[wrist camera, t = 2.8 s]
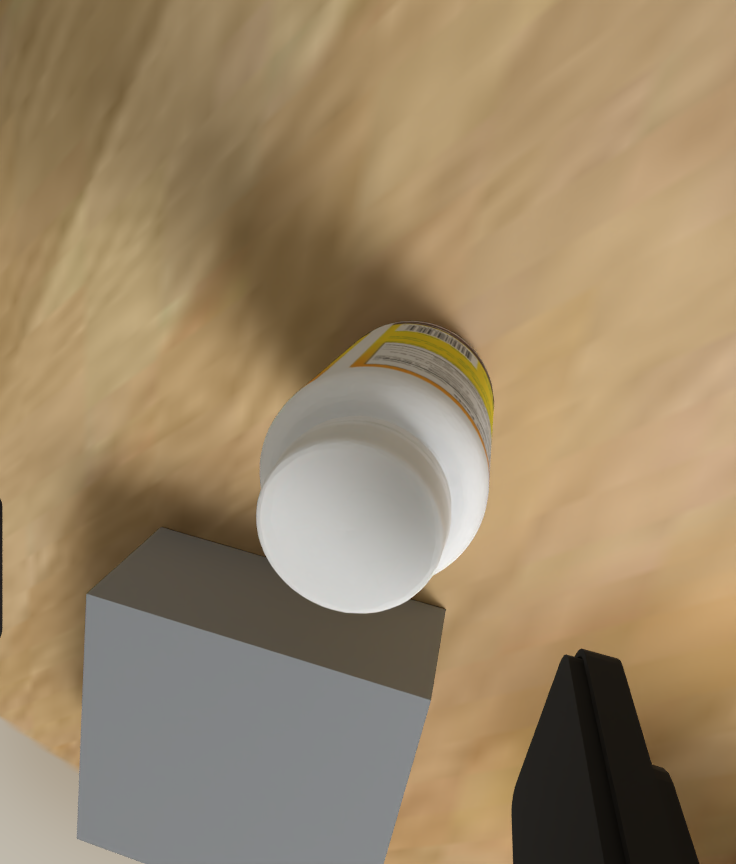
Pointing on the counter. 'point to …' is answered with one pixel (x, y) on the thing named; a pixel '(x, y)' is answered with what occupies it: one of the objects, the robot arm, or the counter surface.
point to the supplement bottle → (378, 469)
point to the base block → (244, 712)
